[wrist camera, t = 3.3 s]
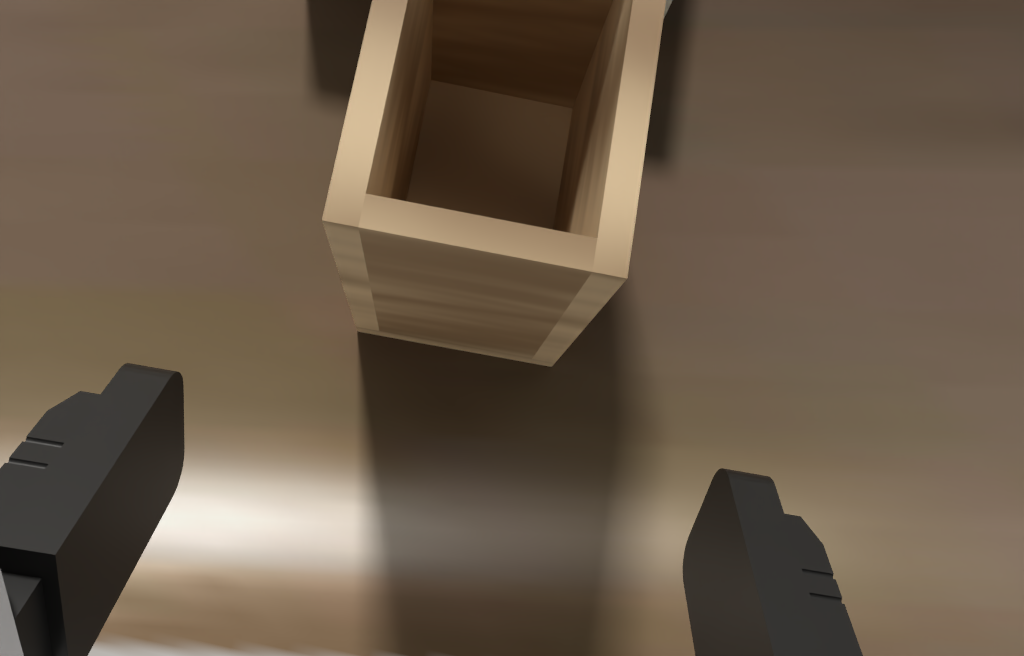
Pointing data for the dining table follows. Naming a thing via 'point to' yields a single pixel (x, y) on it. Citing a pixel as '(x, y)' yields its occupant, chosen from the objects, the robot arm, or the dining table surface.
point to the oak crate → (492, 169)
